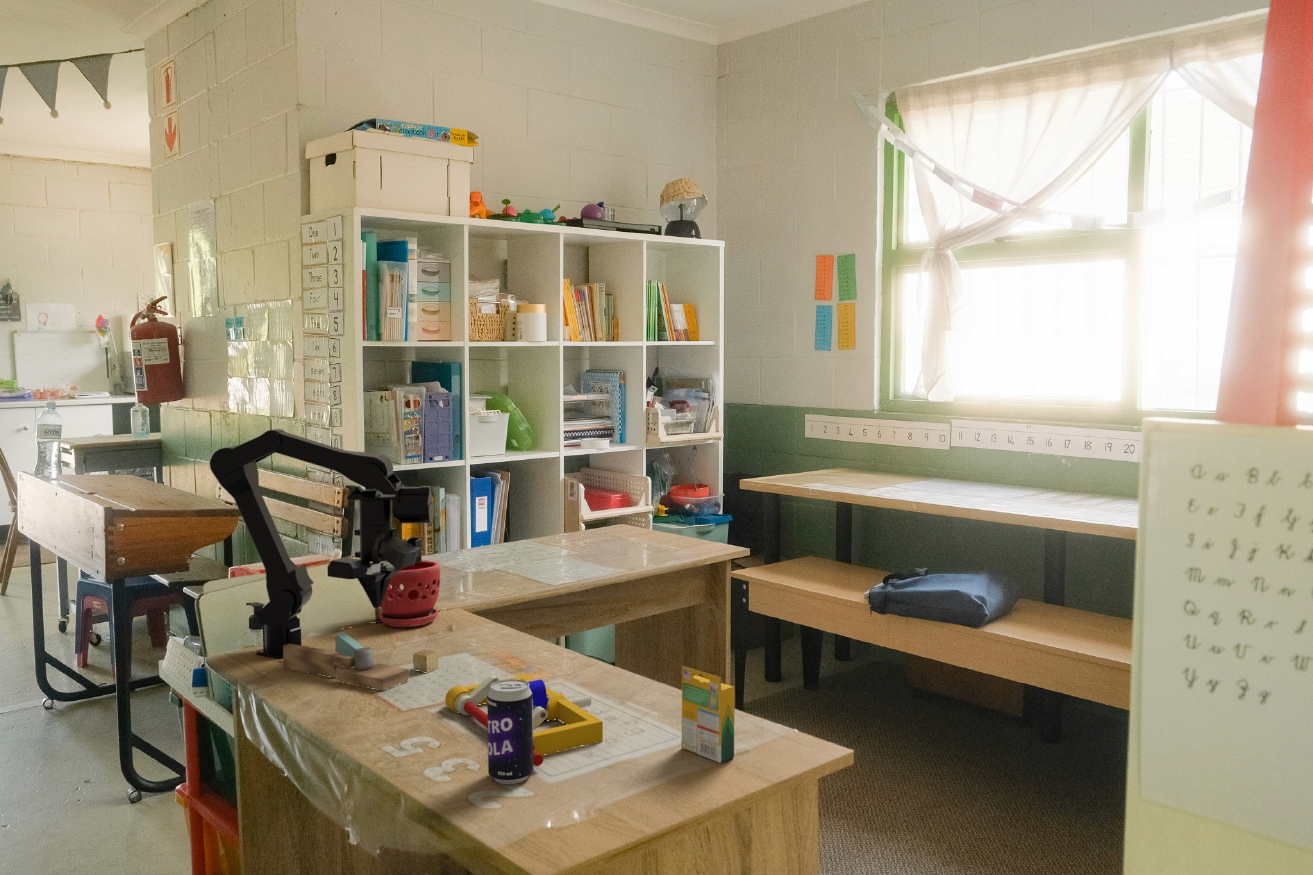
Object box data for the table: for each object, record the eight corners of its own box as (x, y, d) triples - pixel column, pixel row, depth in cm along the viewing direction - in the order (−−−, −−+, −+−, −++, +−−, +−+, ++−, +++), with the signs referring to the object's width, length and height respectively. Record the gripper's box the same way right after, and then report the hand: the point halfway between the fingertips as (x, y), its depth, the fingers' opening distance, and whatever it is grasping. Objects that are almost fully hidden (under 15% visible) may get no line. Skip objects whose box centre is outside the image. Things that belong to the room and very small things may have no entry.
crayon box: (735, 757, 131) (735, 672, 130) (720, 764, 129) (720, 677, 128) (695, 742, 136) (695, 661, 135) (680, 748, 134) (680, 665, 133)
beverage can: (489, 769, 127) (488, 678, 127) (533, 767, 128) (532, 677, 127) (487, 787, 122) (485, 693, 121) (533, 785, 122) (531, 691, 121)
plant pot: (452, 616, 205) (451, 560, 204) (419, 632, 193) (417, 572, 192) (397, 612, 209) (396, 556, 208) (361, 627, 197) (360, 568, 196)
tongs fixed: (408, 680, 163) (408, 651, 163) (383, 691, 158) (382, 660, 158) (304, 661, 174) (304, 633, 174) (277, 670, 169) (276, 641, 169)
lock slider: (438, 668, 170) (438, 651, 170) (426, 673, 167) (426, 656, 167) (425, 665, 171) (424, 649, 171) (413, 670, 169) (412, 653, 168)
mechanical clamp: (524, 730, 125) (441, 669, 151) (524, 777, 126) (442, 709, 151) (645, 703, 135) (549, 651, 160) (645, 747, 136) (549, 688, 161)
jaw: (371, 675, 166) (371, 652, 166) (362, 676, 165) (361, 653, 165) (344, 653, 179) (343, 631, 178) (335, 654, 178) (335, 633, 178)
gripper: (372, 534, 167) (373, 624, 168) (443, 519, 184) (444, 601, 185) (324, 529, 172) (326, 617, 173) (398, 515, 189) (399, 595, 190)
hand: (377, 607), depth 180 cm, fingers closed
